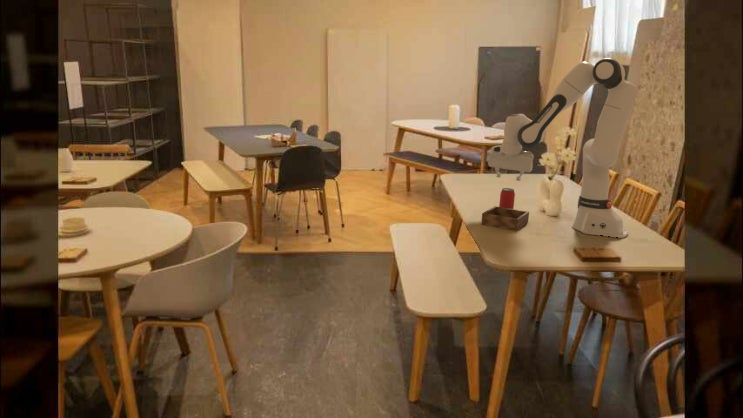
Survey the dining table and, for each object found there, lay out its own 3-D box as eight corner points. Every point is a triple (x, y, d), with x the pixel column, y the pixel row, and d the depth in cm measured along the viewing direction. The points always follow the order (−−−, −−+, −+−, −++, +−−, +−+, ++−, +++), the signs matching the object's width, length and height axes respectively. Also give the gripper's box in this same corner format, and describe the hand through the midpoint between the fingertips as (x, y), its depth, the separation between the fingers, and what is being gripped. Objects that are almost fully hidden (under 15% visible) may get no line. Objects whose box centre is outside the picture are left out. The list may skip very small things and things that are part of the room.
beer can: (513, 216, 265) (515, 191, 262) (498, 215, 266) (501, 190, 263) (512, 213, 271) (515, 188, 268) (498, 211, 273) (500, 187, 270)
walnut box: (528, 222, 256) (529, 211, 255) (517, 230, 242) (518, 219, 241) (493, 216, 264) (494, 206, 262) (481, 224, 250) (482, 213, 249)
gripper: (536, 151, 259) (532, 181, 262) (493, 145, 269) (490, 174, 272) (532, 153, 253) (528, 183, 257) (488, 147, 263) (485, 176, 267)
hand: (508, 178), depth 265 cm, fingers open, 8 cm apart
